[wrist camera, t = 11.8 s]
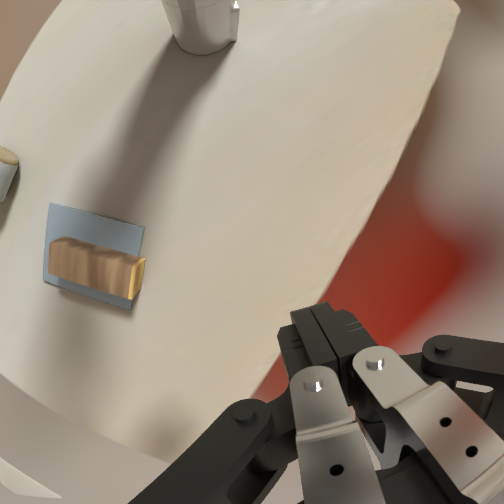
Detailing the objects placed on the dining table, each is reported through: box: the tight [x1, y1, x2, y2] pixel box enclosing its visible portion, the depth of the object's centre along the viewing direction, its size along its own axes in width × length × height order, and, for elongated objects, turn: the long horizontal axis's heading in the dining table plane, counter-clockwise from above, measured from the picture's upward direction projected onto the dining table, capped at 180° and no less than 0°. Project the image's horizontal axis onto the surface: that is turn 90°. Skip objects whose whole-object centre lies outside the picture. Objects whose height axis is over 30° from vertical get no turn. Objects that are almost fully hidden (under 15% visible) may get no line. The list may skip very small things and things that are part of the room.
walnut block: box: [48, 236, 146, 300], centre depth 40 cm, size 5×5×15 cm
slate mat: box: [43, 203, 145, 310], centre depth 42 cm, size 18×14×1 cm
